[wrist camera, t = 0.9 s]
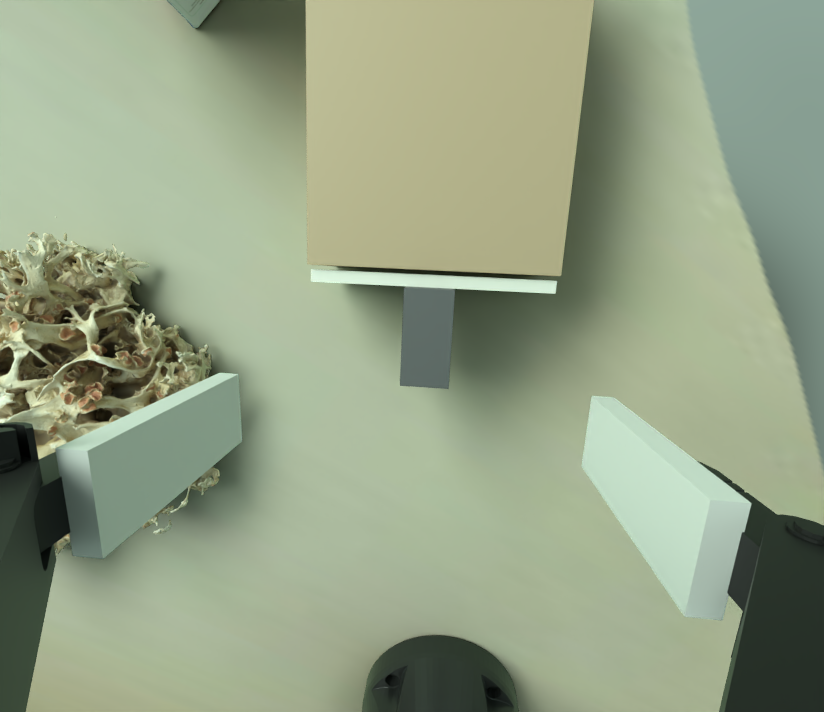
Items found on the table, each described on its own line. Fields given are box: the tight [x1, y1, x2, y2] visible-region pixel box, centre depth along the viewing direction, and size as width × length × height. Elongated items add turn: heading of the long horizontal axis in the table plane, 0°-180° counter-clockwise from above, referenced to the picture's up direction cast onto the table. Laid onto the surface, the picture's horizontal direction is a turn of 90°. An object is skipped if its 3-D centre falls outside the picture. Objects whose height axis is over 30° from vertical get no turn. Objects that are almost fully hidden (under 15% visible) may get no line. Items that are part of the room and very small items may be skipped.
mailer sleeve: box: [306, 0, 594, 276], centre depth 27 cm, size 20×16×7 cm
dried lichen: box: [0, 216, 220, 556], centre depth 32 cm, size 27×30×11 cm
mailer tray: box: [311, 269, 557, 389], centre depth 26 cm, size 26×16×8 cm, turn 177°
